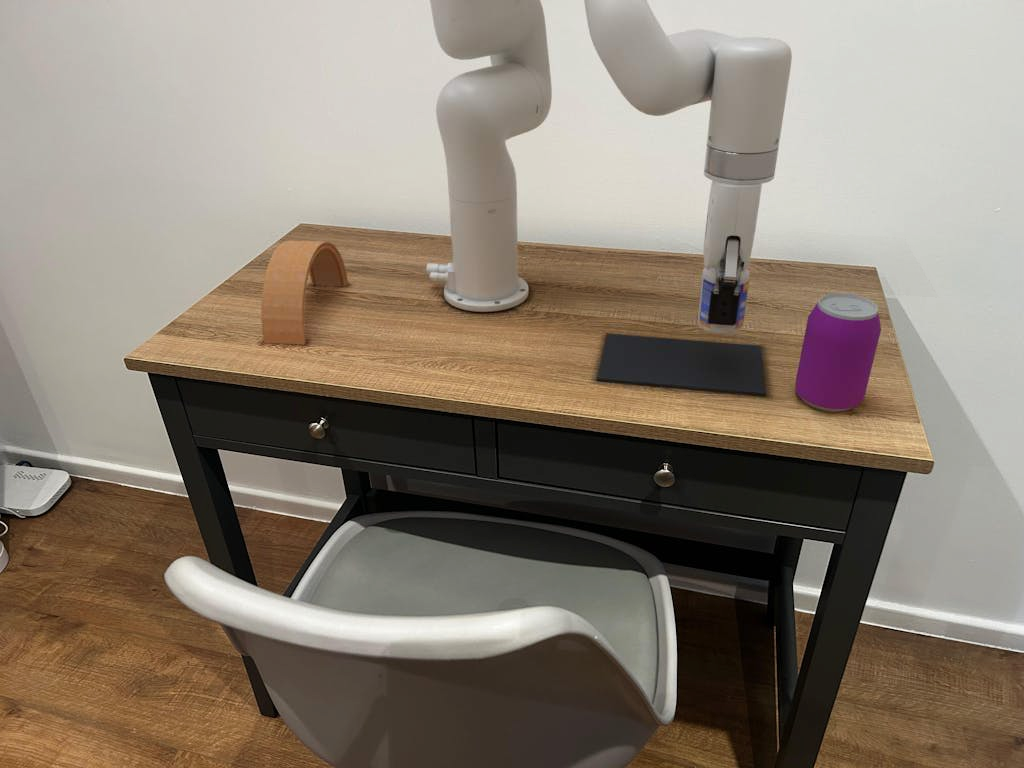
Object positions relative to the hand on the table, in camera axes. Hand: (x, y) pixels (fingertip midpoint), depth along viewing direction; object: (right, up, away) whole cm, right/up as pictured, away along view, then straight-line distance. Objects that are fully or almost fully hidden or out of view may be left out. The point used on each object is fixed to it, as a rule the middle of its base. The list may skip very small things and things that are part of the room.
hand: (721, 310), depth 97 cm
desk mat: (-4, -6, +5) cm, 9 cm away
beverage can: (+12, -11, -2) cm, 16 cm away
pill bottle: (0, -2, +1) cm, 2 cm away
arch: (-55, +2, +20) cm, 58 cm away
